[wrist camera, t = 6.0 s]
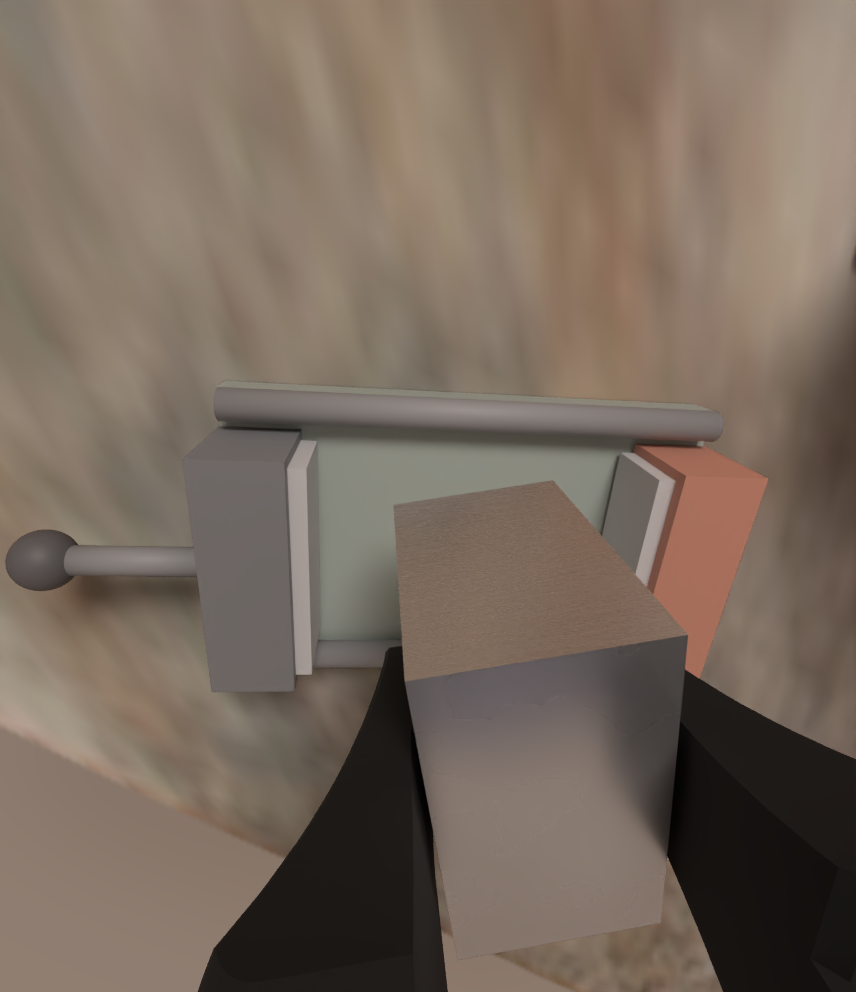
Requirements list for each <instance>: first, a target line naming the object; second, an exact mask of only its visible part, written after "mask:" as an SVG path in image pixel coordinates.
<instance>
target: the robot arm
mask: <svg viewBox="0 0 856 992" xmlns="http://www.w3.org/2000/svg"><path fill="white" fill-rule="evenodd" d="M667 856H668V858H669V861H670V863H671V865H672V868H673V870H674V872H675V875H676V877H677V879H678V882H679V884H680V886H681V889H682V891H683V893H684V896H685V898H686V901H687V903H688V906H689V908H690V910H691V913H692V915H693V918H694V920H695V922H696V925H697V927H698V930H699V932H700V934H701V937H702V939H703V942H704V944H705V947H706V949H707V952H708V954H709V957H710V960H711V962H712V965H713V967H714V970H715V972H716V975H717V977H718V980H719V982H720V985H721V987H722V990H723V992H856V759H854V758H851V757H849V756H847V755H844V754H842V753H840V752H837V751H835V750H833V749H830V748H828V747H826V746H824V745H822V744H820V743H817V742H815V741H813V740H811V739H809V738H807V737H804V736H802V735H800V734H798V733H796V732H794V731H792V730H790V729H788V728H786V727H784V726H782V725H780V724H778V723H776V722H774V721H772V720H770V719H768V718H766V717H764V716H763V715H761V714H759V713H757V712H755V711H753V710H751V709H750V708H748V707H746V706H744V705H742V704H740V703H739V702H737V701H735V700H733V699H732V698H730V697H728V696H727V695H725V694H723V693H722V692H720V691H718V690H717V689H715V688H714V687H712V686H710V685H709V684H707V683H706V682H704V681H702V680H701V679H699V678H698V677H696V676H694V675H693V674H691V673H690V672H688V671H687V670H685V674H684V684H683V695H682V705H681V716H680V726H679V737H678V747H677V758H676V768H675V779H674V789H673V800H672V810H671V821H670V831H669V842H668V853H667ZM198 992H448V990H447V981H446V972H445V963H444V953H443V944H442V935H441V926H440V916H439V907H438V897H437V888H436V879H435V866H434V848H433V827H432V822H431V817H430V812H429V807H428V801H427V796H426V791H425V786H424V780H423V775H422V770H421V765H420V759H419V754H418V749H417V744H416V738H415V733H414V728H413V723H412V717H411V712H410V707H409V702H408V696H407V691H406V686H405V679H404V663H403V648H402V646H397V647H391V648H389V649H388V650H387V651H386V652H385V658H384V662H383V666H382V670H381V674H380V677H379V680H378V684H377V687H376V690H375V693H374V695H373V698H372V701H371V703H370V706H369V709H368V711H367V714H366V717H365V719H364V722H363V724H362V726H361V728H360V731H359V733H358V735H357V737H356V739H355V742H354V744H353V746H352V748H351V751H350V753H349V755H348V757H347V759H346V761H345V763H344V765H343V767H342V769H341V771H340V772H339V774H338V776H337V778H336V780H335V782H334V783H333V785H332V787H331V789H330V791H329V792H328V794H327V796H326V798H325V799H324V801H323V802H322V804H321V806H320V807H319V809H318V811H317V812H316V814H315V815H314V817H313V819H312V820H311V822H310V824H309V825H308V827H307V828H306V830H305V831H304V833H303V834H302V836H301V837H300V839H299V840H298V842H297V843H296V845H295V846H294V847H293V849H292V850H291V851H290V853H289V854H288V856H287V857H286V858H285V860H284V861H283V862H282V864H281V865H280V867H279V868H278V869H277V871H276V872H275V874H274V875H273V876H272V878H271V879H270V881H269V882H268V883H267V885H266V886H265V887H264V888H263V890H262V891H261V892H260V894H259V895H258V896H257V897H256V899H255V900H254V901H253V902H252V903H251V905H250V906H249V907H248V908H247V910H246V911H245V912H244V913H243V914H242V915H241V917H240V918H239V919H238V920H237V921H236V923H235V924H234V925H233V926H232V927H231V929H230V930H229V931H228V933H227V934H226V935H225V936H224V937H223V938H222V940H221V941H220V942H219V943H218V944H217V945H216V947H215V948H214V949H213V952H212V955H211V957H210V959H209V962H208V965H207V967H206V970H205V973H204V975H203V978H202V981H201V984H200V987H199V990H198Z"/></svg>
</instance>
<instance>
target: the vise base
mask: <svg viewBox="0 0 856 992" xmlns="http://www.w3.org/2000/svg"><path fill="white" fill-rule="evenodd" d="M214 412H215V416H216V419H217V420H218V421H219V427H217V428H216V429H215V430H214V431H213V432H212V433H211V434H210V435H209V436H208V437H206V438H205V439H204V440H203V441H202V442H201V443H200V444H199V445H198V446H196V447H195V448H194V449H193V450H192V451H191V452H190V453H189V454H188V455H186V456H185V457H184V458H183V467H184V475H185V483H186V491H187V499H188V507H189V515H190V523H191V531H192V539H193V547H153V546H91V545H78V544H77V543H76V542H75V540H74V539H72V538H71V537H70V536H68V535H67V534H65V533H62V532H59V531H55V530H37V531H33V532H30V533H28V534H25V535H24V536H22V537H20V538H19V539H18V540H17V541H15V542H14V543H13V545H12V546H11V547H10V549H9V551H8V553H7V556H6V561H5V562H6V570H7V572H8V574H9V576H10V577H11V579H12V580H13V581H14V582H15V583H17V584H18V585H20V586H21V587H23V588H26V589H29V590H34V591H47V590H53V589H56V588H59V587H61V586H63V585H65V584H66V583H68V582H69V581H70V580H71V579H73V577H74V576H147V577H197V579H198V587H199V595H200V603H201V611H202V619H203V627H204V635H205V643H206V651H207V659H208V667H209V675H210V683H211V691H212V692H275V691H294V690H295V686H296V681H297V676H298V675H312V671H313V668H380V667H382V666H383V662H384V658H385V652H386V651H387V650H388V649H389V648H391V647H397V646H402V632H401V617H400V601H399V585H398V570H397V554H396V539H395V523H394V507H393V505H395V504H401V503H408V502H414V501H421V500H427V499H434V498H440V497H447V496H453V495H460V494H466V493H473V492H479V491H486V490H492V489H499V488H505V487H512V486H518V485H525V484H531V483H538V482H544V481H551V480H553V481H554V482H555V483H556V484H557V485H558V486H559V488H560V489H561V490H562V491H563V492H564V493H565V494H566V496H567V497H568V498H569V499H570V500H571V501H572V502H573V504H574V505H575V506H576V507H577V508H578V509H579V510H580V512H581V513H582V514H583V515H584V516H585V517H586V518H587V520H588V521H589V522H590V523H591V524H592V525H593V526H594V528H595V529H596V530H597V531H598V532H599V533H600V534H601V536H602V533H603V529H604V524H605V520H606V515H607V511H608V506H609V502H610V497H611V493H612V488H613V484H614V479H615V475H616V470H617V466H618V461H619V457H620V452H621V453H633V451H634V447H635V444H658V445H682V446H703V444H704V441H705V442H713V441H716V440H717V439H718V438H719V437H720V435H721V433H722V430H723V418H722V415H721V414H720V413H719V412H718V411H711V410H709V409H706V408H704V407H701V406H699V405H696V404H677V403H657V402H637V401H617V400H597V399H577V398H557V397H537V396H517V395H497V394H476V393H456V392H436V391H416V390H396V389H376V388H356V387H336V386H316V385H296V384H276V383H255V382H235V381H224V382H223V383H221V384H220V385H218V386H216V390H215V393H214Z"/></svg>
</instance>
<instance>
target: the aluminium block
mask: <svg viewBox="0 0 856 992" xmlns="http://www.w3.org/2000/svg"><path fill="white" fill-rule="evenodd" d="M393 507H394V523H395V539H396V554H397V570H398V585H399V601H400V617H401V632H402V648H403V663H404V679H405V686H406V691H407V696H408V702H409V707H410V712H411V717H412V723H413V728H414V733H415V738H416V744H417V749H418V754H419V759H420V765H421V770H422V775H423V780H424V786H425V791H426V796H427V801H428V807H429V812H430V817H431V822H432V827H433V833H434V838H435V843H436V848H437V854H438V859H439V864H440V869H441V875H442V880H443V885H444V890H445V896H446V901H447V906H448V911H449V917H450V922H451V927H452V932H453V938H454V943H455V948H456V953H457V959H458V960H462V959H467V958H473V957H478V956H483V955H489V954H494V953H500V952H505V951H511V950H516V949H522V948H527V947H533V946H538V945H544V944H549V943H555V942H560V941H565V940H571V939H576V938H582V937H587V936H593V935H598V934H604V933H609V932H615V931H620V930H626V929H631V928H637V927H642V926H647V925H653V924H658V923H661V916H662V905H663V895H664V884H665V874H666V863H667V853H668V842H669V831H670V821H671V810H672V800H673V789H674V779H675V768H676V758H677V747H678V737H679V726H680V716H681V705H682V695H683V684H684V674H685V663H686V653H687V642H688V634H687V633H686V632H685V631H684V629H683V628H682V627H681V626H680V625H679V624H678V623H677V621H676V620H675V619H674V618H673V617H672V616H671V615H670V613H669V612H668V611H667V610H666V609H665V608H664V607H663V605H662V604H661V603H660V602H659V601H658V600H657V599H656V597H655V596H654V595H653V594H652V593H651V592H650V590H649V589H648V588H647V587H646V586H645V585H644V584H643V582H642V581H641V580H640V579H639V578H638V577H637V576H636V574H635V573H634V572H633V571H632V570H631V569H630V568H629V566H628V565H627V564H626V563H625V562H624V561H623V560H622V558H621V557H620V556H619V555H618V554H617V553H616V552H615V550H614V549H613V548H612V547H611V546H610V545H609V544H608V542H607V541H606V540H605V539H604V538H603V537H602V536H601V534H600V533H599V532H598V531H597V530H596V529H595V528H594V526H593V525H592V524H591V523H590V522H589V521H588V520H587V518H586V517H585V516H584V515H583V514H582V513H581V512H580V510H579V509H578V508H577V507H576V506H575V505H574V504H573V502H572V501H571V500H570V499H569V498H568V497H567V496H566V494H565V493H564V492H563V491H562V490H561V489H560V488H559V486H558V485H557V484H556V483H555V482H554V481H553V480H551V481H544V482H538V483H531V484H525V485H518V486H512V487H505V488H499V489H492V490H486V491H479V492H473V493H466V494H460V495H453V496H447V497H440V498H434V499H427V500H421V501H414V502H408V503H401V504H395V505H393Z"/></svg>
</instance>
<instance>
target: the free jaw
mask: <svg viewBox="0 0 856 992" xmlns="http://www.w3.org/2000/svg"><path fill="white" fill-rule="evenodd" d="M767 482H768V478H766V477H764V476H762V475H760V474H758V473H756V472H754V471H752V470H750V469H748V468H746V467H744V466H742V465H740V464H738V463H737V462H735V461H733V460H731V459H729V458H727V457H725V456H723V455H721V454H719V453H717V452H715V451H713V450H711V449H709V448H707V447H705V446H682V445H658V444H635V447H634V451H633V453H621V452H620V457H619V461H618V466H617V470H616V475H615V479H614V484H613V488H612V493H611V497H610V502H609V506H608V511H607V515H606V520H605V524H604V529H603V533H602V537H603V538H604V539H605V540H606V541H607V542H608V544H609V545H610V546H611V547H612V548H613V549H614V550H615V552H616V553H617V554H618V555H619V556H620V557H621V558H622V560H623V561H624V562H625V563H626V564H627V565H628V566H629V568H630V569H631V570H632V571H633V572H634V573H635V574H636V576H637V577H638V578H639V579H640V580H641V581H642V582H643V584H644V585H645V586H646V587H647V588H648V589H649V590H650V592H651V593H652V594H653V595H654V596H655V597H656V599H657V600H658V601H659V602H660V603H661V604H662V605H663V607H664V608H665V609H666V610H667V611H668V612H669V613H670V615H671V616H672V617H673V618H674V619H675V620H676V621H677V623H678V624H679V625H680V626H681V627H682V628H683V629H684V631H685V632H686V633H687V634H688V642H687V653H686V663H685V670H687V671H688V672H690V673H691V674H693V675H694V676H696V677H698V678H700V676H701V673H702V670H703V667H704V664H705V661H706V658H707V655H708V653H709V650H710V647H711V644H712V641H713V638H714V635H715V632H716V629H717V627H718V624H719V621H720V618H721V615H722V612H723V609H724V606H725V603H726V601H727V598H728V595H729V592H730V589H731V586H732V583H733V580H734V577H735V575H736V572H737V569H738V566H739V563H740V560H741V557H742V554H743V551H744V549H745V546H746V543H747V540H748V537H749V534H750V531H751V528H752V525H753V523H754V520H755V517H756V514H757V511H758V508H759V505H760V502H761V500H762V497H763V494H764V491H765V488H766V485H767Z"/></svg>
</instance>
